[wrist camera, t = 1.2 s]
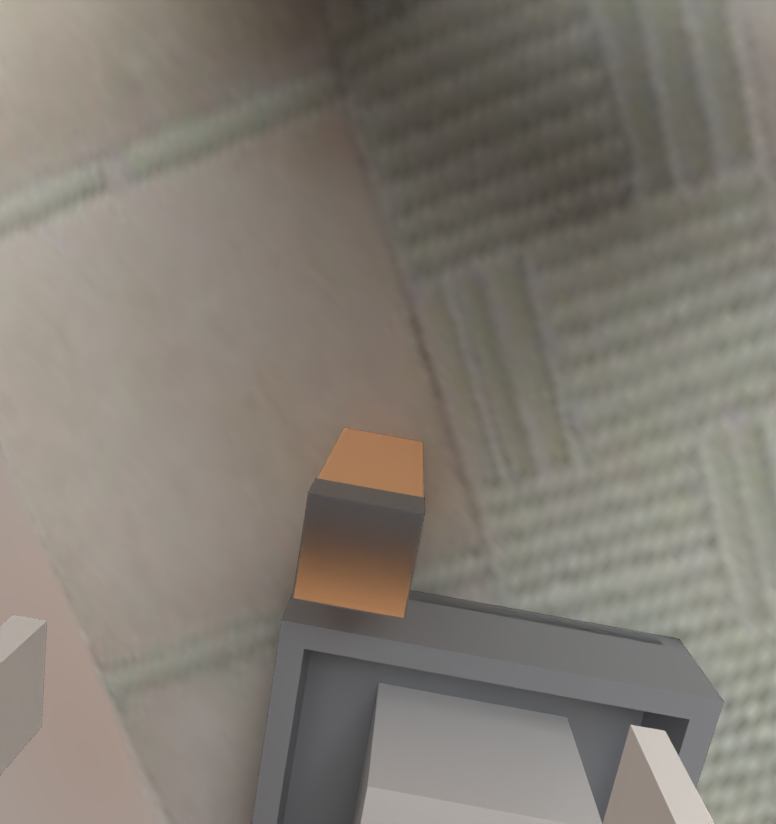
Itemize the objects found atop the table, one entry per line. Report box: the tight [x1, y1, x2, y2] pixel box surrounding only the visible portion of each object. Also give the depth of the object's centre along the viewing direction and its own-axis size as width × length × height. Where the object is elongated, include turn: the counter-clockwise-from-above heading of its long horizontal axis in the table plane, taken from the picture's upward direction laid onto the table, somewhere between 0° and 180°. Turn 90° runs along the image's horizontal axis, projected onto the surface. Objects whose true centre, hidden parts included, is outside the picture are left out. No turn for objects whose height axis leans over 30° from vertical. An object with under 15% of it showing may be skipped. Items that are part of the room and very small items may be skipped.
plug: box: [292, 428, 425, 619], centre depth 27 cm, size 4×4×10 cm
